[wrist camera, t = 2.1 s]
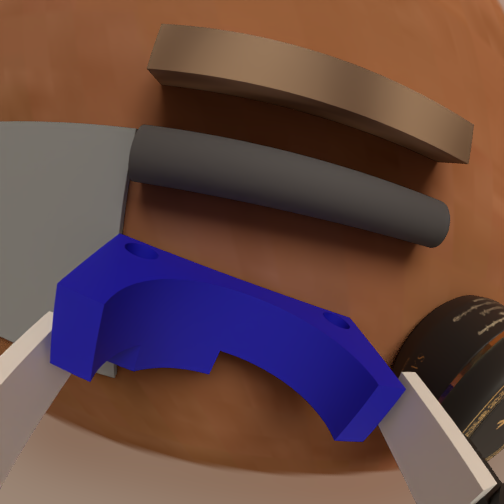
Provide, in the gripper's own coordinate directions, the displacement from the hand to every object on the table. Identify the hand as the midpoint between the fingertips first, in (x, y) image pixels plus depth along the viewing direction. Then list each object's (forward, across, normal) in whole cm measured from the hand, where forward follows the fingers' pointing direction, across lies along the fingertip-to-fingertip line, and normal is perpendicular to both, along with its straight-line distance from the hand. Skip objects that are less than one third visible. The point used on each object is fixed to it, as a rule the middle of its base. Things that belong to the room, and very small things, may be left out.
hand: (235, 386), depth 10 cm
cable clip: (+5, 0, 0) cm, 5 cm away
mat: (+5, -12, +2) cm, 13 cm away
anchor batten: (+5, +2, +11) cm, 12 cm away
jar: (+5, +14, -1) cm, 15 cm away
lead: (+4, +2, +8) cm, 9 cm away
